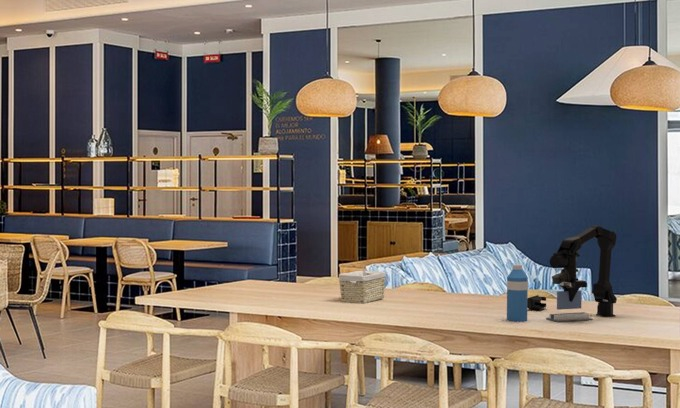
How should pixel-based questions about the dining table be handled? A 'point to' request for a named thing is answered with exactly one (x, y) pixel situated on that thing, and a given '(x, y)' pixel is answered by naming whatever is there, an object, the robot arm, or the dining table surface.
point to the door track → (569, 317)
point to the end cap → (536, 303)
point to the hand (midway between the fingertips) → (569, 301)
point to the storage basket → (362, 286)
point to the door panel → (564, 300)
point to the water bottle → (517, 295)
